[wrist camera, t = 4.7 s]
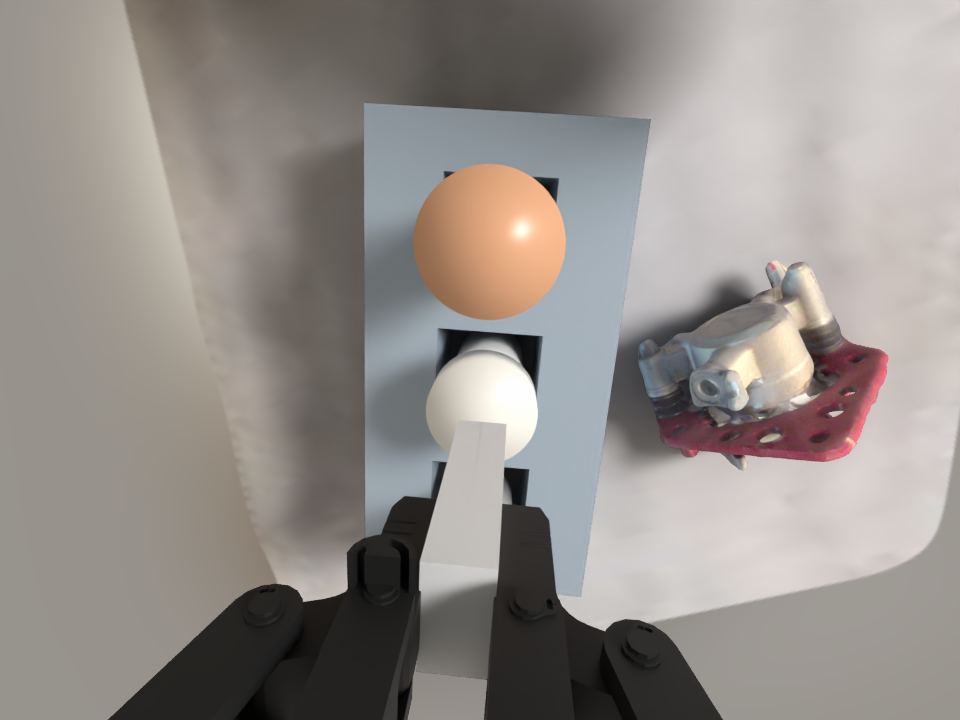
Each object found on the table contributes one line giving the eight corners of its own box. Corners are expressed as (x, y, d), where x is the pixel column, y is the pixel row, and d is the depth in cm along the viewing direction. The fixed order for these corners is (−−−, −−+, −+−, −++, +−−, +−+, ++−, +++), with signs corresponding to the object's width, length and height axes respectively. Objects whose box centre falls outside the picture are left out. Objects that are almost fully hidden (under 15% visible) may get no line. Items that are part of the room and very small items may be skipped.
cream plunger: (452, 312, 29) (427, 355, 20) (534, 319, 28) (543, 364, 20) (449, 389, 30) (423, 459, 21) (527, 395, 30) (532, 469, 21)
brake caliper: (692, 514, 31) (708, 508, 20) (614, 361, 35) (593, 288, 25) (883, 442, 29) (1014, 391, 18) (775, 289, 33) (829, 175, 23)
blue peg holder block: (399, 128, 28) (363, 102, 21) (617, 141, 27) (651, 119, 21) (393, 505, 35) (365, 575, 28) (567, 521, 34) (580, 596, 28)
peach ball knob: (451, 177, 23) (415, 158, 15) (551, 184, 23) (574, 168, 14) (446, 278, 24) (411, 314, 16) (542, 285, 24) (557, 325, 16)
